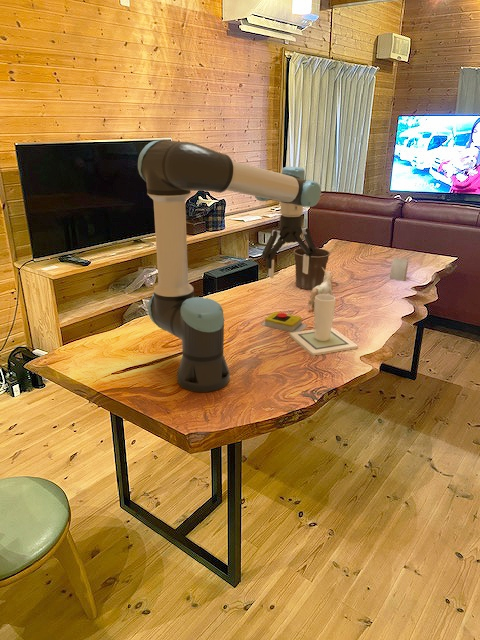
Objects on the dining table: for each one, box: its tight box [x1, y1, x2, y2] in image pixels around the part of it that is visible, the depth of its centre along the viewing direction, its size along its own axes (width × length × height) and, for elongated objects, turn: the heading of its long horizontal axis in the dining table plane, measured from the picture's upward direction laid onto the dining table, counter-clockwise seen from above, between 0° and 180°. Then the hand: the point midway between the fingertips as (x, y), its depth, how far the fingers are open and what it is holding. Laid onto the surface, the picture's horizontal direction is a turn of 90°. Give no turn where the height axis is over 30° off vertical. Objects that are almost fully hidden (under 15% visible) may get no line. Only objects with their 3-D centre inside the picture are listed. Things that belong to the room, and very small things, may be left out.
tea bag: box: [389, 257, 409, 282], centre depth 233 cm, size 4×7×10 cm, turn 58°
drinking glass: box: [313, 293, 336, 341], centre depth 164 cm, size 7×7×15 cm
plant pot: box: [293, 246, 331, 291], centre depth 220 cm, size 16×16×16 cm
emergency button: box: [261, 311, 308, 333], centre depth 179 cm, size 9×4×15 cm
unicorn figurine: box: [307, 267, 334, 308], centre depth 197 cm, size 7×20×13 cm, turn 156°
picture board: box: [288, 326, 359, 357], centre depth 167 cm, size 17×17×1 cm
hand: (288, 275), depth 173 cm, fingers open, 13 cm apart
